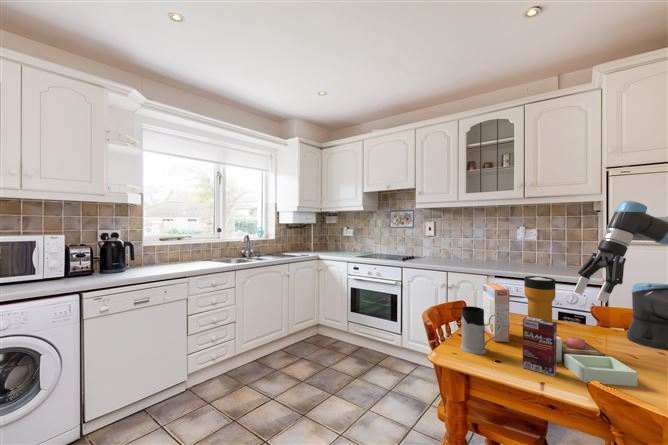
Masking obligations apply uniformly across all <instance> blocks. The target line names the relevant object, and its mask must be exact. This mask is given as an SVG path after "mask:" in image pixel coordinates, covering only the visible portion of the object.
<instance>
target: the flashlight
mask: <svg viewBox="0 0 668 445" xmlns="http://www.w3.org/2000/svg"><path fill="white" fill-rule="evenodd" d="M523 281H524V284H523V285H524V287H523V288H524V296H525V298H527V317H531V318H537V319H542V320H547V321H552V322H553V302H554V300H555V299H556V279H555V278H553V277H547V276H541V275H540V276H537V275H533V276H532V275H529V276H528V275H527V276H524V280H523Z"/></svg>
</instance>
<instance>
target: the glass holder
mask: <svg viewBox="0 0 668 445" xmlns="http://www.w3.org/2000/svg"><path fill="white" fill-rule="evenodd" d="M492 316H499V315H496V314H494V315H491V316H490V318H489V324H490V319H491V317H492ZM499 317H500V316H499ZM500 318H501V317H500ZM501 321H502V318H501ZM489 324H484V310H483V308H481V307H477V306H471V305H470V306H469V305H466V306H463V307H461V345H460V349H461V351H463V352H466V353H469V354H473V355H484V354H485V353H487V350H486V345H487V343H489V342H491V341H493V339H494V338H495V337H497V336H498V335H499V333H500V332H501V330H502V326H503V321H502V324H501V328H500V331H499V332H498V334H497V335H495V336H494V337H493V338H491V337H490V338H489V339H488V340H486V339H485V338H486V334H485V333H486V332H485V326H488V325H489Z"/></svg>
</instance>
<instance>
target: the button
mask: <svg viewBox="0 0 668 445" xmlns="http://www.w3.org/2000/svg"><path fill="white" fill-rule="evenodd" d="M585 343H586V342H585V340H584V339H583V338H581V337H576V336H566V346H567V347H569V348H572V349H578V350H584V349H585Z"/></svg>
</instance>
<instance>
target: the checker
mask: <svg viewBox="0 0 668 445" xmlns="http://www.w3.org/2000/svg"><path fill="white" fill-rule="evenodd" d="M561 342H562V364H564V354H574V355H590V356H605V357H606V353H604V352H602V351H600V350H599V349H597V348H596V347H594V346H592V345H591V344H589V343H588V342H585V349H584V350H578V349H572V348H569V347H567V346H566V341H565V340H564V341H563V340H561Z"/></svg>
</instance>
